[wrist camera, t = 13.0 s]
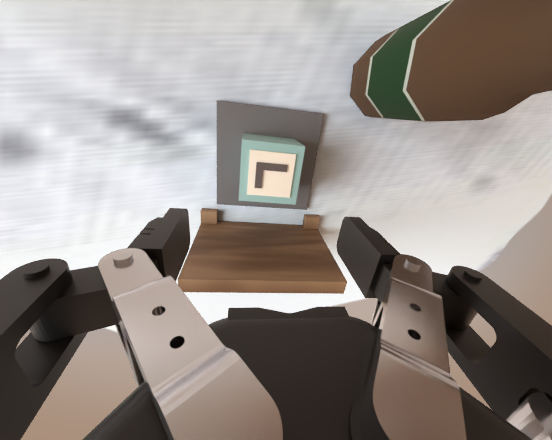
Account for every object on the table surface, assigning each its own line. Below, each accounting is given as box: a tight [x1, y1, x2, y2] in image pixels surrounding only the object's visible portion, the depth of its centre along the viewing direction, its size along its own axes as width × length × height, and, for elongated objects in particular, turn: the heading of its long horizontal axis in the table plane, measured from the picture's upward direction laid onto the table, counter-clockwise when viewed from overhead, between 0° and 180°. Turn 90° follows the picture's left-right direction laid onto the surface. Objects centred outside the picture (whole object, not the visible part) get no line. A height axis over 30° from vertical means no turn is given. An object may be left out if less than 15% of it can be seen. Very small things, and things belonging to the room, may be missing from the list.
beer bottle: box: [350, 0, 552, 121], centre depth 15 cm, size 8×8×24 cm
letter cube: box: [239, 133, 305, 205], centre depth 25 cm, size 6×6×6 cm
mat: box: [217, 101, 324, 210], centre depth 28 cm, size 12×12×1 cm
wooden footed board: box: [178, 208, 347, 293], centre depth 27 cm, size 5×16×12 cm, turn 84°
